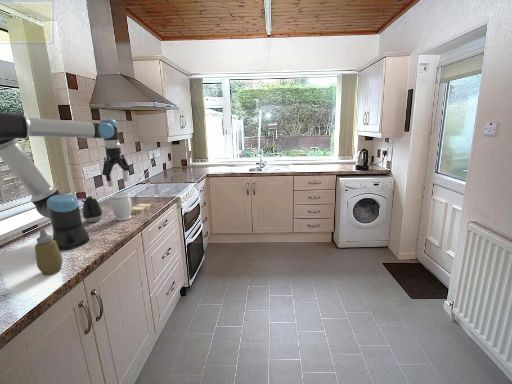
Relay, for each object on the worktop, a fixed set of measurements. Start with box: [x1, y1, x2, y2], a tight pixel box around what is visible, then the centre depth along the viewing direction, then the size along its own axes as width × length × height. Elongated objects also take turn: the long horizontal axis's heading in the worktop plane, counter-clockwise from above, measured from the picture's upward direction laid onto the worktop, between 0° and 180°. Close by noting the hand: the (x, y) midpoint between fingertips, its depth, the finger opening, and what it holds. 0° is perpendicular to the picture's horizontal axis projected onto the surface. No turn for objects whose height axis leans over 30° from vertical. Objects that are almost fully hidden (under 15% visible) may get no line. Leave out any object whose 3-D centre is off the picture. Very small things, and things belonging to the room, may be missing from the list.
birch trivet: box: [130, 203, 154, 215], centre depth 182 cm, size 14×9×2 cm, turn 168°
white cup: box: [110, 192, 133, 221], centre depth 165 cm, size 11×10×15 cm
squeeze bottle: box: [34, 227, 63, 276], centre depth 105 cm, size 8×8×18 cm
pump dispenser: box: [81, 195, 103, 223], centre depth 162 cm, size 10×10×15 cm
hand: (118, 183), depth 161 cm, fingers open, 13 cm apart
